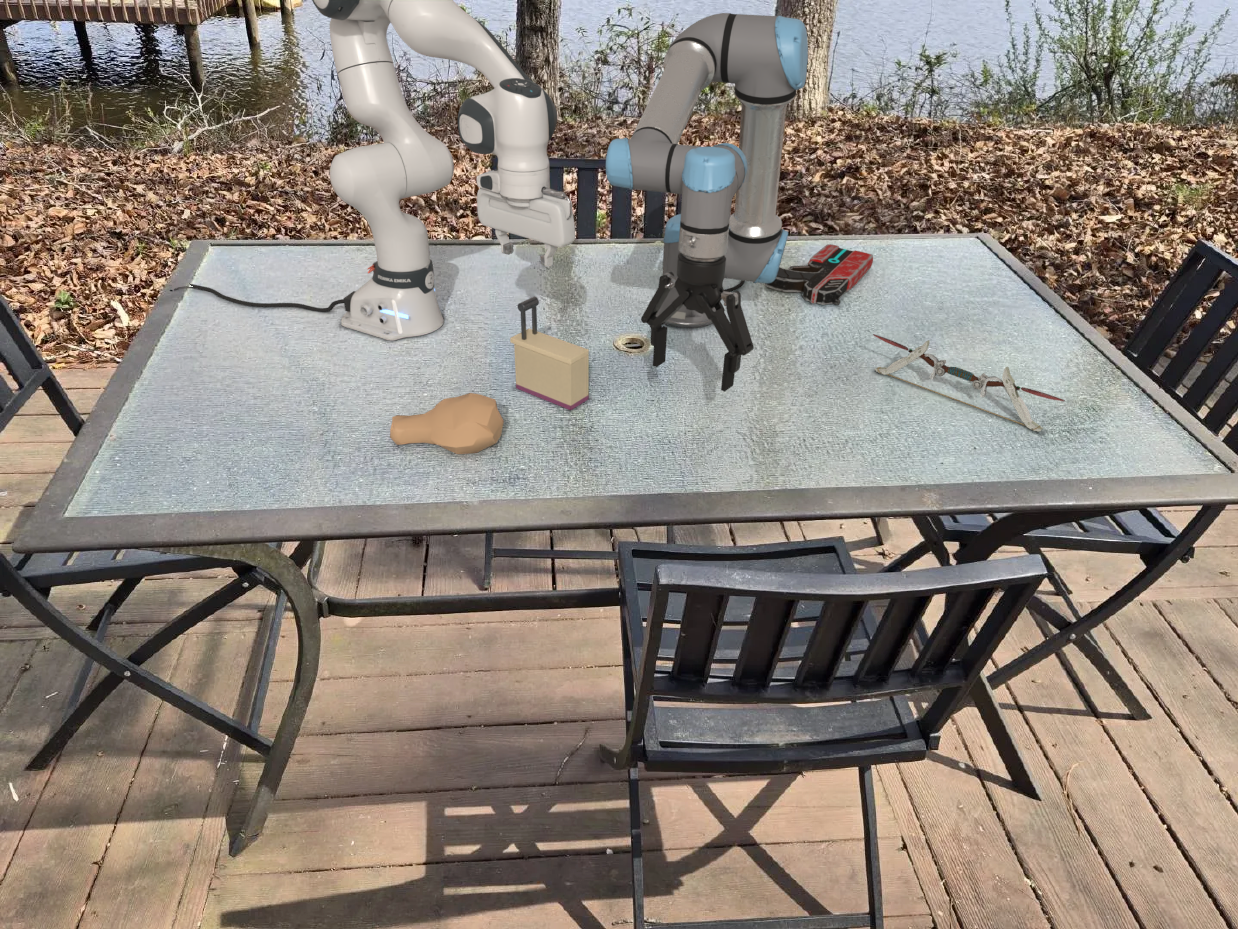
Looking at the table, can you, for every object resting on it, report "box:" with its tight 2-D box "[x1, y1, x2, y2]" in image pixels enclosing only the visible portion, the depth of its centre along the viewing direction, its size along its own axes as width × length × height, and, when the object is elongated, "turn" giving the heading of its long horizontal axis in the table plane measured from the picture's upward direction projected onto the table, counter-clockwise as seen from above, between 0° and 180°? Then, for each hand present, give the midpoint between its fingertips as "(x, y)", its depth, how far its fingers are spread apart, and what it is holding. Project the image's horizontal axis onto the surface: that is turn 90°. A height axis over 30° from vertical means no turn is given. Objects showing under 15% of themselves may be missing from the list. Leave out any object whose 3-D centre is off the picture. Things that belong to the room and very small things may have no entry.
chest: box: [513, 344, 590, 411], centre depth 168 cm, size 14×6×10 cm, turn 53°
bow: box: [872, 333, 1066, 432], centre depth 170 cm, size 39×2×10 cm, turn 47°
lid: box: [509, 296, 590, 365], centre depth 163 cm, size 15×6×8 cm, turn 54°
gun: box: [764, 243, 874, 306], centre depth 221 cm, size 4×31×19 cm
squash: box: [389, 392, 505, 455], centre depth 152 cm, size 11×20×9 cm, turn 90°
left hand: (527, 259), depth 159 cm, fingers open, 8 cm apart
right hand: (692, 375), depth 148 cm, fingers open, 13 cm apart
